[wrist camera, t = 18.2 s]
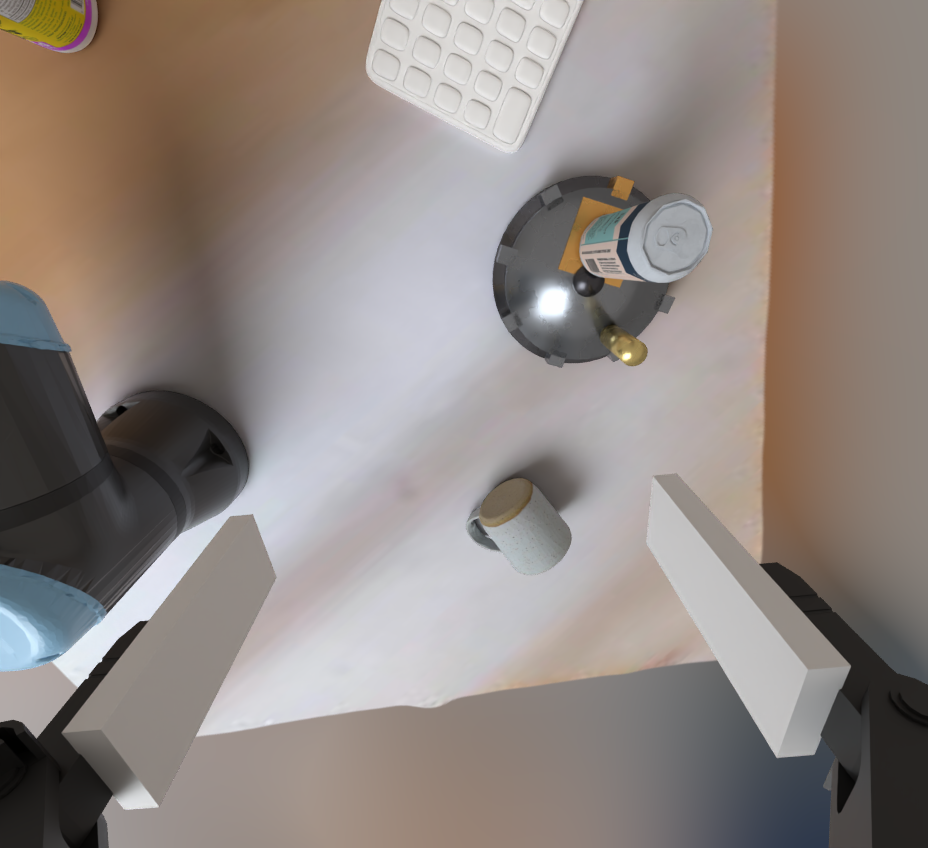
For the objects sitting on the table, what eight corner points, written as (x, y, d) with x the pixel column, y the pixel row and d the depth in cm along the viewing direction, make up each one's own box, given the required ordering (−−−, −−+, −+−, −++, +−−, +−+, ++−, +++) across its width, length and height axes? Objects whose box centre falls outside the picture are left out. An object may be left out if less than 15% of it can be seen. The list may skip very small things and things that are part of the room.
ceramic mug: (526, 462, 47) (535, 503, 40) (565, 511, 50) (580, 557, 43) (451, 508, 50) (447, 554, 43) (491, 552, 53) (494, 602, 46)
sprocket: (539, 390, 43) (554, 423, 36) (462, 241, 37) (460, 245, 30) (694, 312, 40) (745, 331, 32) (635, 135, 34) (680, 110, 27)
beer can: (629, 279, 36) (707, 286, 25) (573, 275, 36) (626, 281, 25) (641, 216, 34) (730, 193, 23) (582, 212, 34) (644, 187, 23)
